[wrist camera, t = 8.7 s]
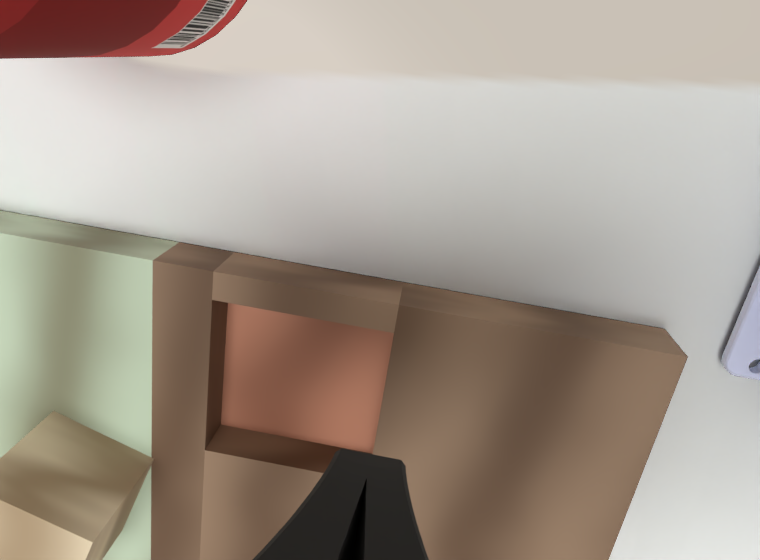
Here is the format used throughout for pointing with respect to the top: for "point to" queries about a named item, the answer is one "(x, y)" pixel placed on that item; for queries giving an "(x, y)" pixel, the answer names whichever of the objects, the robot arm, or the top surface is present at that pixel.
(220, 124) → the top surface
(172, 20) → the canned food
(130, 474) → the maple block
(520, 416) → the trap deck
